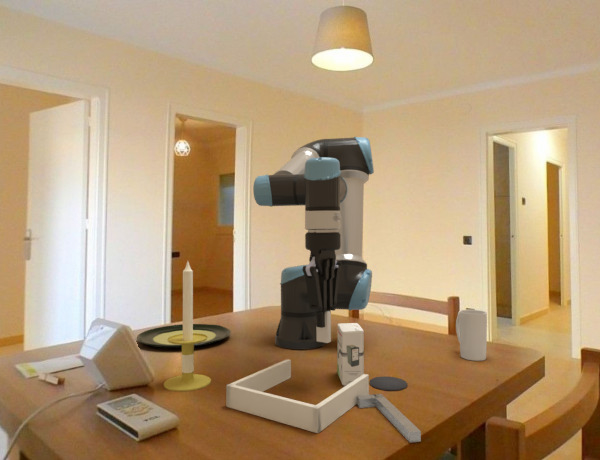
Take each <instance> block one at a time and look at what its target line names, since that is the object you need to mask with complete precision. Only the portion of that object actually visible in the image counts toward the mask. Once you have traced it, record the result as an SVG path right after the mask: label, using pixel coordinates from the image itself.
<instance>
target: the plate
mask: <svg viewBox="0 0 600 460" xmlns="http://www.w3.org/2000/svg"><path fill="white" fill-rule="evenodd" d="M193 333H198V334H204V335H206V336H208V338H207V340H205V341H203V342H200V343H196V344H194V348H195V347H200V346H207V345H212V344H215V343H217V342H220V341H222V340H224V339H226V338H228V337H229V336H230V335H232V334H231V333H232V330H231V329H230V328H227V327H226V326H222V325H218V324H207V323H193ZM179 334H183V323H182V324H174V325H173V324H172V325H164V326H159V327H155V328H151V329H147V330H145V331H143V332H140V333H138V335H137V336H136V340H137V341H138V342H139V343H141V344H144V345H146V346H149V347H155V348H163V349H164V348H167V349H182V345H180V344H172V343H169V342H168V340H167V339H168V338H169V337H171V336H174V335H179Z"/></svg>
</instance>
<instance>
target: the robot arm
mask: <svg viewBox="0 0 600 460" xmlns="http://www.w3.org/2000/svg"><path fill="white" fill-rule="evenodd" d="M371 148H372V147H371V142H370V139H369V138H368V137H365V136H360V137H359V136H358V137H357V136H354V137H339V138H338V137H337V138H321V139H317V140H313V141H311V142H309V143H306V144H304V145H302V146H301V147H298V148H297V149H296V150H295V151H294V152H293V153H292V155H291V157H290V160H289V161H287V162H285V164H284V165H283V166H281V167H280V168H279V169H278V170H277V171H275V173H273V174H265V175H264V174H263V175H257V177H255V178H254V181H253V182H254V183H253V185H252V186H253V189H252V191H253V199H254V201H255V203H256V204H257V205H258V206H259V207H260V206H261V207H288V206H289V207H291V206H295V207H296V206H304V208H305V209H304V210H305V211H304V229H305V230H306V231H307V232H306V233H305V235H304V238H305V239H304V242H305V243H304V245H305V246H304V248H305V249H306V250H307V251H310V255H309V258H308V259H309V260H308V261H309V263H308V264H303V265H295V266H294V265H293V266H289V267H285V268H284V269H283V270H282V271H281V275H280V276H281V277H280V283H279V285H280V320H279V323H278V326H277V328H276V332H275V336H274V344H275V345H276V346H277V347H280V348H283V349H289V350H290V349H291V350H311V349H317V348H320V347H323V346H325V345H326V344H328V343H331V342H332V316H331V313H332V311H336V310H346V311H353V310H354V311H357V310H358V311H359V310H360V311H362V310H364V309H366V308H367V306H368V304H369V300H370V295H371V289H372V284H373V283H372V281H373V279H372V278H373V271H372V270H371V269H369V268H368V263H367V262H366V261H365V260H364V258H363V237H364V236H363V233H364V231H363V229H364V194H365V193H364V189H365V187H364V186H365V184H366V183H367V182H369V179H370V175H372V174H374V172H375V171H374V163H373V154H372V149H371Z"/></svg>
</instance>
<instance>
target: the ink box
mask: <svg viewBox="0 0 600 460" xmlns="http://www.w3.org/2000/svg"><path fill="white" fill-rule="evenodd" d="M364 333H365V332H364V329H363V328H362V327H361V325H360V324H359V323H357V322H351V323H350V322H346V323H345V322H344V323H337V333H336V335H337V337H336V338H337V342H336V343H337V347H336V349H337V353H336V354H337V356H336V357H337V358H336V360H337V361H336V362H337V363H336V366H337V367H336V369H337V370H336V371H337V372H336V373H337V375H338V378H339V379H340V382H341V385H342V386H346V385H348V384H349V383H351V382H353V381H354V380H356V379H357V378H359V377H360V376H362V375H363V374H365V372H364V371H365V364H364V361H365V360H364V358H365V353H364V352H365V351H364V349H365V348H364V344H365V343H364V340H365V339H364V337H365V335H364Z"/></svg>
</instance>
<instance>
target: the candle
mask: <svg viewBox="0 0 600 460" xmlns="http://www.w3.org/2000/svg"><path fill="white" fill-rule="evenodd" d="M193 279H194V270H192V267H191V265H190V262H189V261H187V262H186V264H185V268H184V269H183V270H182V324H183V334H179V335H174V336H171V337H169V338H168V339H167V340H168V342H169V343H172V344H180V345H182V348H181V374H180V375H176V376H173V377H170V378H168V379H166V380H165V381H164V383H163V387H164V388H165V389H166V390H169V391H172V392H173V391H174V392H190V391H196V390H200V389H204V388H206V387H207V386H209V385H211V382H212V379H211V378H210V377H209V376H207V375H205V374H199V373H195V372H194V370H195V369H194V367H195V362H194V360H195V359H194V358H195V357H194V355H195V353H194V349H195V347H194V344H196V343H200V342H203V341H205V340H207V338H208V336H206V335H204V334H198V333H193V324H194V323H193V321H194V296H193V295H194V287H193V286H194V280H193Z"/></svg>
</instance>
